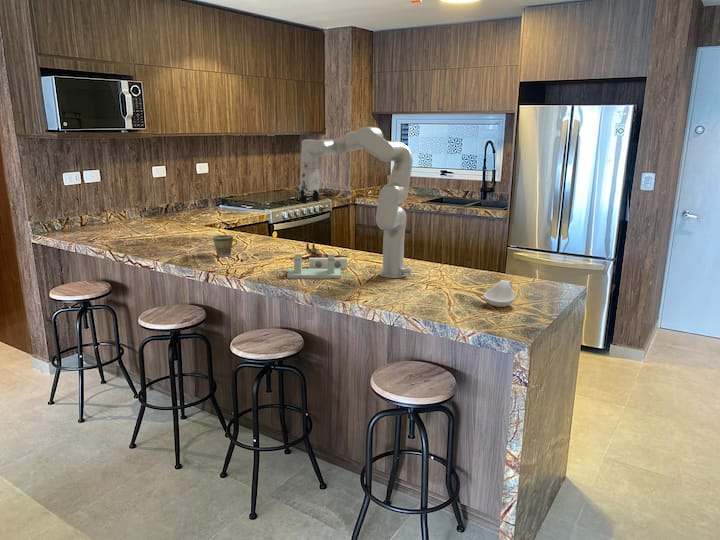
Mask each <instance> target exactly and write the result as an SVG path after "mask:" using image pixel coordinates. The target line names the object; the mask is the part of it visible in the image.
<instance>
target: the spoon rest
mask: <svg viewBox="0 0 720 540" xmlns="http://www.w3.org/2000/svg"><path fill="white" fill-rule="evenodd" d="M512 284H513V283H512V282H511V280H504V279H501V280H500V281H499V282H497V283H496V284H495V285H493V286H491V288H489V289H487V290H486V291H485V292H484V293H483V295H482V296H483V299H484V300H485V302H486V303H487V304H488V305H490V306H493V307H497V308H504V307H505V308H506V307H508V306H510V305H511V304H513V302H514V301H515V299H516V295H515V293H514V290H513V285H512Z"/></svg>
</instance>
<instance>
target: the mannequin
mask: <svg viewBox="0 0 720 540" xmlns="http://www.w3.org/2000/svg"><path fill="white" fill-rule="evenodd" d="M309 245H310V243H308V242H307V243H306V250H307V251H308V252H309V251H310V255H306V256H302V260H309V258H328V254H329V253H328V254H327V253H326V254H325V253H321V251H320V250H319V249H318V248H316V245H315V242H313V243H312V248H310V246H309ZM334 257H335V258H348V257H349V256H348V255H341V254H336V255H335V254H334ZM291 259H294V257H291V258H290V260H291Z"/></svg>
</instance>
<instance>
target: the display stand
mask: <svg viewBox="0 0 720 540" xmlns="http://www.w3.org/2000/svg"><path fill="white" fill-rule="evenodd" d="M334 256H335V254H331V253H328V269H309V268H303V267H302V265H303V262H302V260H303V259H302V257H303V255H302V254H300V253H299V254H294V256H293V258H294V260H293V264H294V265H293V267H294V268H288V272H287V274H286V278H287V279H332V278H341V279H342V269H334Z"/></svg>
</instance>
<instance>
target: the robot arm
mask: <svg viewBox="0 0 720 540" xmlns="http://www.w3.org/2000/svg"><path fill="white" fill-rule="evenodd" d="M383 134H384V133H383V132H382V130H381V129H380V128H378V127H375V126H362V127H360V128H359V129H358V130H354V131H353V130H352V131H348V132H347V133H345V135H344V136H341V137H335V138H331V139H302V141H301V174H300V184H299V185H298V186H297V188H298V192H299V195H300V203H301V204H306V205H307V203H308V195H307V193H308V192H312V202H319V201H320V200H319V199H320V198H319V197H320V194H319V193H320V191H321V187H322V183H321V181H320V178H321V177H320V171H319V169H318V168H319V167H318V166H319V165H318V163H319V162H318V159H319V158H318V157H330V156H336V155H340V154H345V153H352V152H355V151H359V150H364V151H366V152H367V153H369V154H371V155H372V156H373V157H375V158H376V159H377V160H378V161H381V162H385V163H386V162H393V166H392V169H391V173H390V180H389V183H388V184H385V185H384V186H383V187H381V189H380V190H379V191H380V192H379V194H378V199H377V206H376V213H375V223H376V225H377V226H378V228H379V229H380V230H381V231H383V235H382V236H383V239H382V241H383V243H382V269H380V271H379V272H378V275H379V276H380V277H383V278H387V279H400V278H405V277H406V276H407V275H411V274H412V269H411V268H407V267H406V265H404V261H405V259H404V257H405V256H404V255H405V233H406V226H407V218H408V217H407V212H406V211H405V209H404V208H402V207H401V206H399V205H400V204H403V203H404V202H406V201H407V199H408V195H409V189H410V183H411V174H412V169H413V154H412V151H411V149H410V148H409V146H407V145H406V144H405V143H403V142H401V141H398V140H386V139H385V138H384V135H383Z"/></svg>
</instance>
